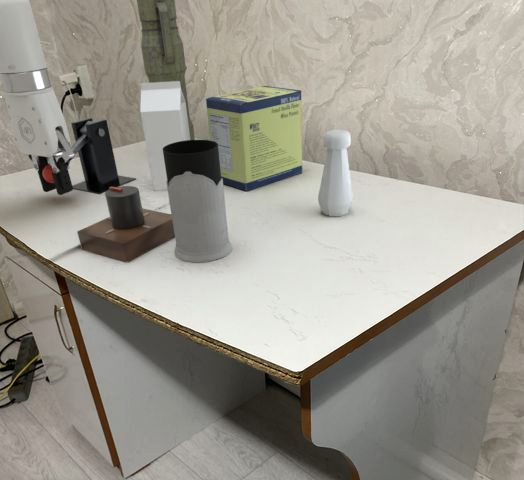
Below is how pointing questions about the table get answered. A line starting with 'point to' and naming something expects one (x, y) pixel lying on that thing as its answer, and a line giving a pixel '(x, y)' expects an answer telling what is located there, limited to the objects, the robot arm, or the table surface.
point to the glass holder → (197, 200)
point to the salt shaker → (336, 175)
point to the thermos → (163, 46)
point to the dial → (124, 207)
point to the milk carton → (162, 124)
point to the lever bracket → (97, 158)
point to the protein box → (257, 135)
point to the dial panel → (127, 236)
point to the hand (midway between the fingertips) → (58, 190)
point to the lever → (75, 148)
